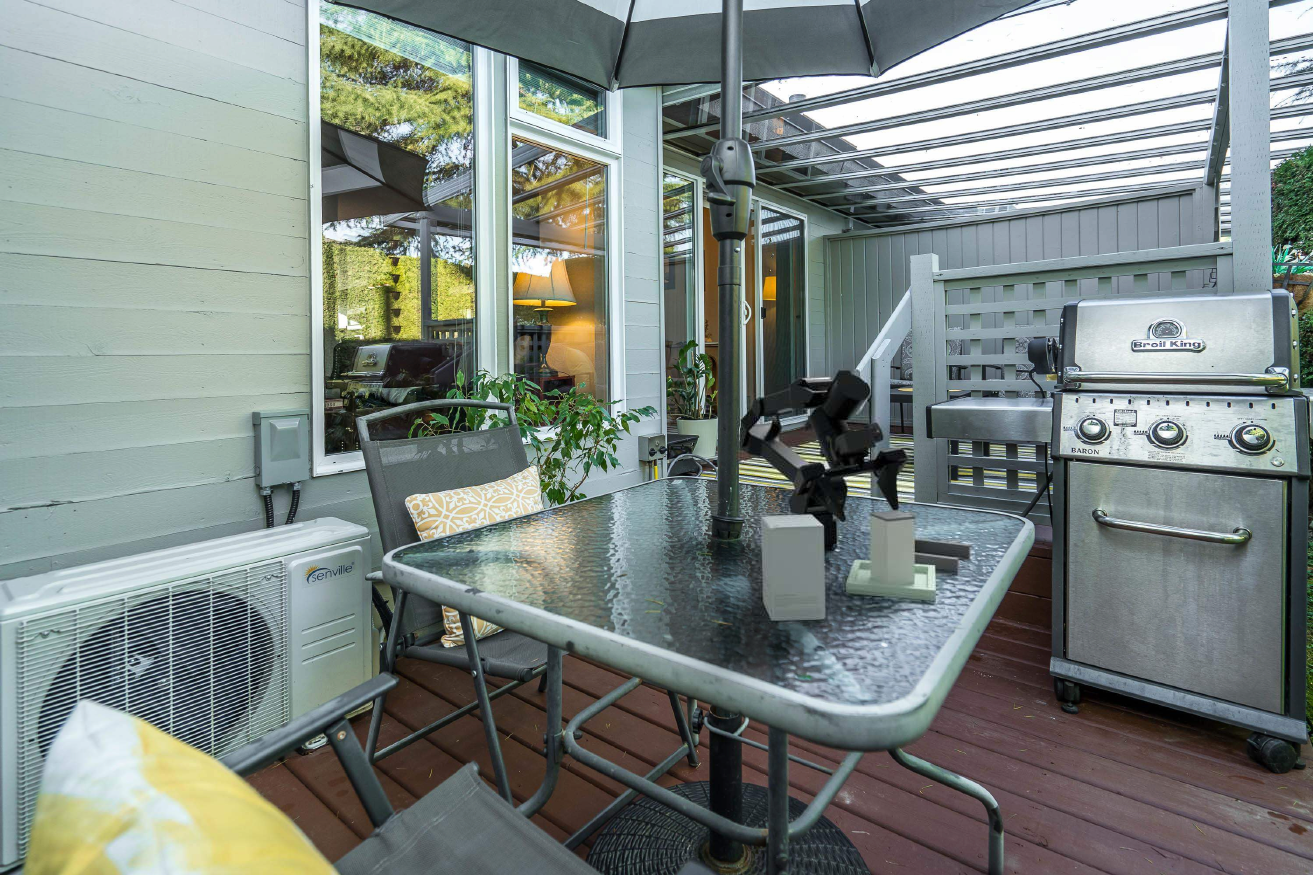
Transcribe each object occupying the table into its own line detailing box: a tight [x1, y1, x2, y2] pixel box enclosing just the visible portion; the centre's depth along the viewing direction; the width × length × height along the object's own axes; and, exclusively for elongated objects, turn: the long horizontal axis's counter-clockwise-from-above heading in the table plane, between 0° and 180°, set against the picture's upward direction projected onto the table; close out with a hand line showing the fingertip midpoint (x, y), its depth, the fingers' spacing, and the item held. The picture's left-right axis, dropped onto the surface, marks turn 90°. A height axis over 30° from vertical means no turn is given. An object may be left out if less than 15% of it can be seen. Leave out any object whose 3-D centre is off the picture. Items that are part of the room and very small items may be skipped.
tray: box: [845, 559, 937, 602], centre depth 99 cm, size 12×12×2 cm
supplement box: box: [760, 514, 826, 622], centre depth 89 cm, size 7×7×13 cm
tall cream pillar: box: [869, 509, 916, 585], centre depth 99 cm, size 4×4×10 cm
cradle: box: [915, 537, 971, 573], centre depth 110 cm, size 10×10×2 cm
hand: (870, 515), depth 106 cm, fingers open, 9 cm apart
